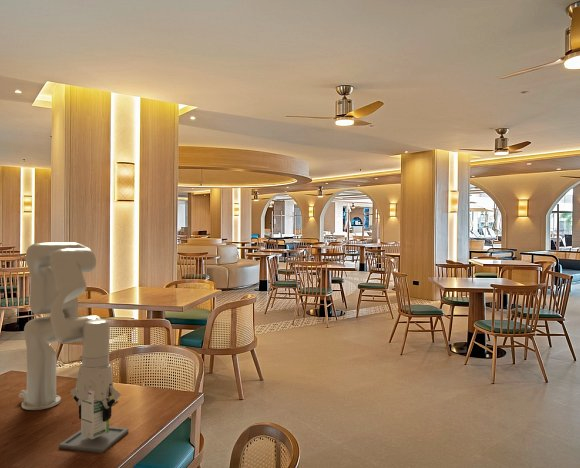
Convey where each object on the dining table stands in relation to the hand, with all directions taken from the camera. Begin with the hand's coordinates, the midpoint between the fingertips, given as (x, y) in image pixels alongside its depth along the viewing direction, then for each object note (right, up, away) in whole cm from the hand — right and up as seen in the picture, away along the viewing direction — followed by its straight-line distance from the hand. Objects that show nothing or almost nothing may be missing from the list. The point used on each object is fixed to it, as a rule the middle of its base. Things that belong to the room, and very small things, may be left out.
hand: (95, 418), depth 138 cm
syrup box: (0, -5, 0) cm, 5 cm away
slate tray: (0, -7, 0) cm, 7 cm away
